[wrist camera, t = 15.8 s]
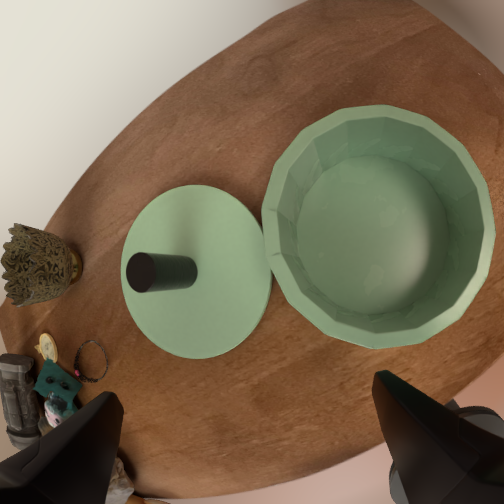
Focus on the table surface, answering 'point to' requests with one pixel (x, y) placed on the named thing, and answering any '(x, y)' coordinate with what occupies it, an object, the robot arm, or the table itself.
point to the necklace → (78, 366)
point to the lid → (196, 271)
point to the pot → (378, 226)
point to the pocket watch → (47, 347)
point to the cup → (38, 266)
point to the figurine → (57, 392)
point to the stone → (119, 485)
